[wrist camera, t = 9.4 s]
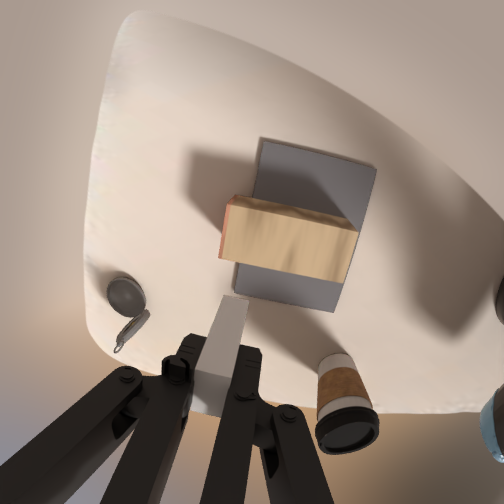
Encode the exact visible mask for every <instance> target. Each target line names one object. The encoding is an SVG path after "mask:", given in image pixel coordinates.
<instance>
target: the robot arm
mask: <svg viewBox="0 0 504 504" xmlns="http://www.w3.org/2000/svg"><path fill="white" fill-rule="evenodd" d="M248 305H249V300H245V299H240V298H236V297H231V296H227V295H224V296H223V299H222V301H221V304H220V306H219V309H218V311H217V314H216V316H215V319H214V322H213V324H212V327H211V329H210V332H209V334H208V337H204V336H200V335H196V334H192V333H190V334H189V335H187V336H186V337H185V338H184V339H183V341H182V343H181V346H180V347H179V349H178V351H177V353H176V355H170V356H167V357H165V358H164V359H163V360H162V375H158V376H142V374H141V372H140V371H139V370H138V369H136V368H134V367H131V366H122V367H119V368H117V369H115V370H114V371H113V372H112V373H110V374H109V375H108V376H107V377H106V378H104V379H103V380H102V381H101V382H100V383H99V384H97V385H96V386H95V387H94V388H93V389H92V390H91V391H89V392H88V393H87V394H86V395H84V396H83V397H82V398H81V399H80V400H79V401H77V402H76V403H75V404H74V405H72V406H71V407H70V408H69V409H68V410H67V411H65V412H64V413H63V414H62V415H61V416H59V417H58V418H57V419H56V420H55V421H53V422H52V423H51V424H50V425H49V426H48V427H46V428H45V429H44V430H43V431H42V432H41V433H39V434H38V435H37V436H36V437H35V438H33V439H32V440H31V441H30V442H28V443H27V444H26V445H25V446H24V447H23V448H21V449H20V450H19V451H18V452H17V453H15V454H14V455H13V456H12V457H11V458H10V459H8V460H7V461H6V462H5V463H4V464H2V465H1V466H0V504H64V503H65V502H66V501H67V500H68V499H69V498H70V497H71V496H72V495H73V494H74V493H75V492H76V491H77V490H78V489H79V488H80V487H81V486H82V485H83V483H84V482H85V481H86V480H87V479H88V478H89V477H90V476H91V475H92V474H93V473H94V472H95V471H96V470H97V469H98V468H99V467H100V466H101V465H102V464H103V462H104V461H105V460H106V459H107V458H108V457H109V456H110V455H111V454H112V453H113V452H114V451H115V450H116V448H117V447H118V446H119V445H120V444H121V443H122V442H123V441H124V440H125V439H126V438H127V437H128V436H129V434H130V433H131V432H132V431H133V430H134V429H135V430H134V432H133V434H132V436H131V438H130V440H129V442H128V444H127V446H126V448H125V450H124V453H123V455H122V457H121V459H120V461H119V463H118V465H117V467H116V469H115V472H114V474H113V476H112V478H111V480H110V483H109V485H108V487H107V489H106V491H105V493H104V495H103V498H102V500H101V502H100V504H159V503H160V500H161V497H162V494H163V491H164V488H165V485H166V482H167V479H168V476H169V473H170V470H171V467H172V464H173V461H174V459H175V455H176V453H177V450H178V447H179V444H180V441H181V438H182V435H183V432H184V429H185V426H186V423H187V420H188V413H189V410H190V407H191V410H192V411H195V412H199V413H203V414H207V415H211V416H216V417H220V418H221V420H220V424H219V428H218V432H217V436H216V440H215V444H214V448H213V452H212V456H211V460H210V464H209V468H208V472H207V477H206V480H205V484H204V488H203V492H202V496H201V500H200V504H244V499H245V493H246V486H247V479H248V471H249V465H250V458H251V451H252V444H253V445H255V446H258V447H260V448H259V449H260V454H261V459H262V465H263V469H264V475H265V480H266V485H267V489H268V494H269V498H270V504H334V501H333V499H332V496H331V493H330V490H329V487H328V484H327V481H326V478H325V475H324V472H323V469H322V466H321V463H320V460H319V457H318V455H317V451H316V449H315V446H314V443H313V440H312V437H311V434H310V431H309V428H308V425H307V422H306V419H305V416H304V414H303V412H302V411H301V410H300V409H299V408H298V407H296V406H293V405H289V404H283V405H279V406H278V407H274V406H272V405H270V404H268V403H266V402H265V401H264V400H262V398H261V397H260V396H259V393H258V387H259V379H260V371H261V362H262V354H261V352H260V349H259V348H255V347H250V346H245V345H241V344H240V342H241V337H242V333H243V328H244V324H245V319H246V315H247V310H248ZM496 311H497V316H498V318H499V320H500V322H501V323H502V324H503V325H504V278H503V281H502V283H501V286H500V289H499V292H498V296H497V302H496ZM480 429H481V433H482V436H483V439H484V442H485V444H486V446H487V448H488V450H489V451H490V452H492V454H493V457H494V458H495V459H496V460H497V461H499V462H504V384H503V385H502V386H501V387H500V388H499V389H497V390H496V391H495V393H494V395H493V396H492V398H491V399H490V400H489V401H488V402H487V403H486V404H485V406H484V407H483V409H482V411H481V415H480Z"/></svg>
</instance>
